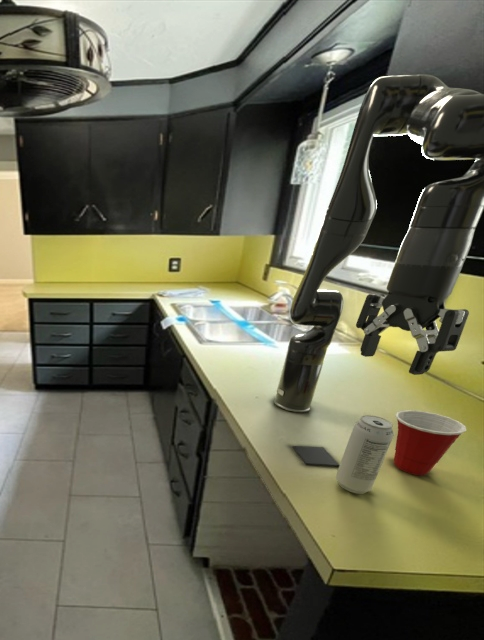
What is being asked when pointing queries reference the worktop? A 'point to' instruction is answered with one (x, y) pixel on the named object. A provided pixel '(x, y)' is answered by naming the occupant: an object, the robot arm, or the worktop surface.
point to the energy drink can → (364, 454)
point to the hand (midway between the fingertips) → (389, 364)
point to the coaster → (315, 456)
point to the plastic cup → (423, 440)
